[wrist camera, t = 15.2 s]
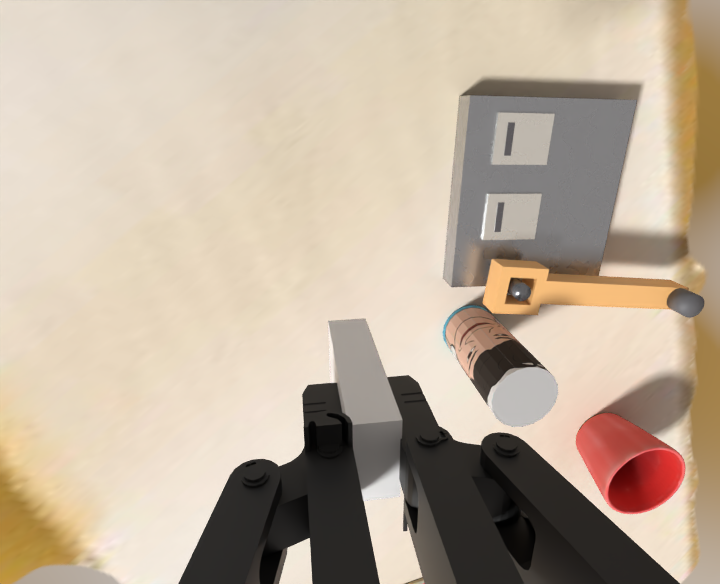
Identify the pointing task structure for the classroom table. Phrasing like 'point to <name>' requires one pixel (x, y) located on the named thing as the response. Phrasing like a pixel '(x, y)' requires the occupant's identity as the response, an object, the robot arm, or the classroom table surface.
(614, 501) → the flower pot
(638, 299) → the bar
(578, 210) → the board
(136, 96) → the classroom table surface
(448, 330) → the printed cylinder
